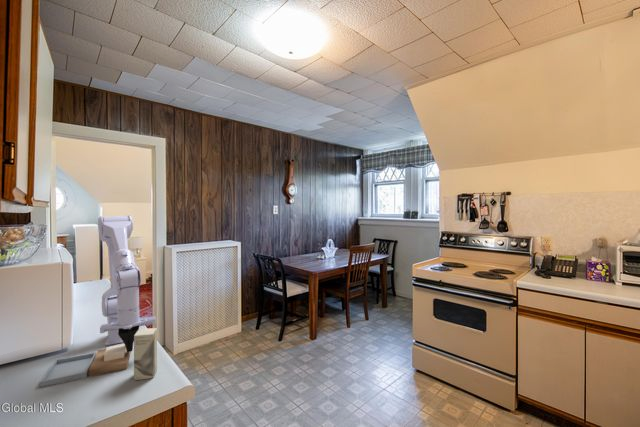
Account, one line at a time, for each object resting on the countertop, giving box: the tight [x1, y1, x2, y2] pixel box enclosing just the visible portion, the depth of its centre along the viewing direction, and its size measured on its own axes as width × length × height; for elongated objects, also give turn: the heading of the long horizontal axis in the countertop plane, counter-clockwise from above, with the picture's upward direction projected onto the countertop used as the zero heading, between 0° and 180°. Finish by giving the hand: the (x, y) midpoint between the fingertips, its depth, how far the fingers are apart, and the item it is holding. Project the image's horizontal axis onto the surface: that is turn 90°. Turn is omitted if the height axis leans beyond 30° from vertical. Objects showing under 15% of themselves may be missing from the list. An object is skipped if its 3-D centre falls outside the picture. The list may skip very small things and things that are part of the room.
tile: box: [104, 343, 126, 361], centre depth 92 cm, size 5×5×2 cm
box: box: [133, 327, 158, 381], centre depth 85 cm, size 5×4×13 cm
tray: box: [39, 352, 97, 388], centre depth 87 cm, size 12×10×2 cm
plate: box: [88, 348, 132, 378], centre depth 92 cm, size 12×9×2 cm
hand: (129, 350), depth 94 cm, fingers closed
